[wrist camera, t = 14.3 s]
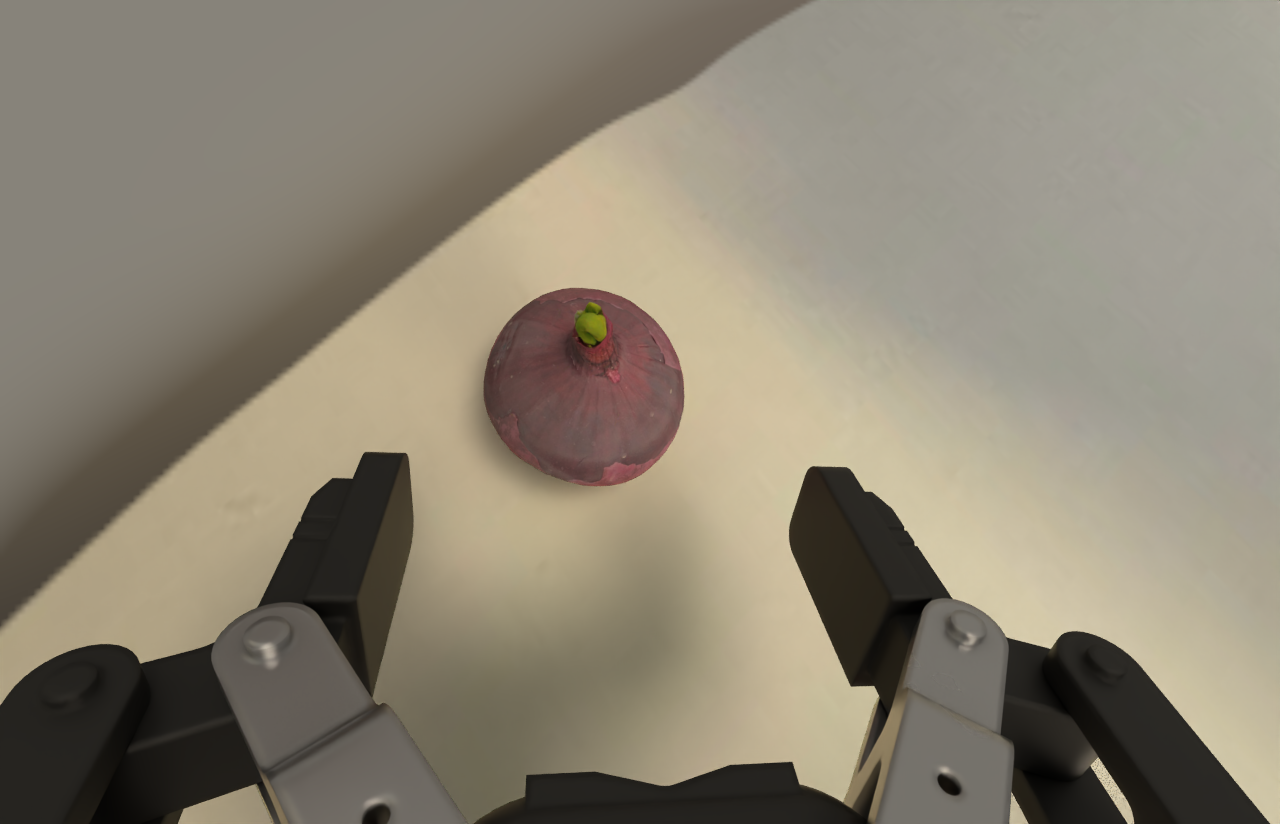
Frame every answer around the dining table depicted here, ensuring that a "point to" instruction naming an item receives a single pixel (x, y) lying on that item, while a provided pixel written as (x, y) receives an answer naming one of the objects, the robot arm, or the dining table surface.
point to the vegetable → (584, 387)
